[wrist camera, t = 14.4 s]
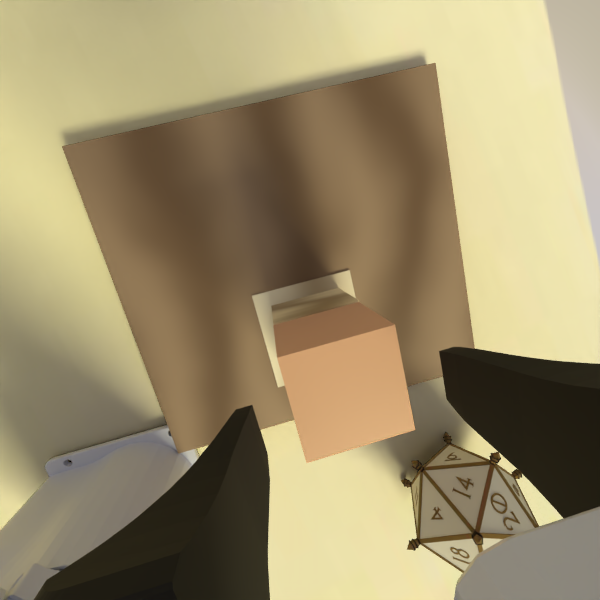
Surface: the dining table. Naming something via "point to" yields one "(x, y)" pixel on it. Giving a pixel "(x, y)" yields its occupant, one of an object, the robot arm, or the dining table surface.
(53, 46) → the dining table surface
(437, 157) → the brown wooden board
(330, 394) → the terracotta block
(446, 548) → the game die
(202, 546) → the robot arm
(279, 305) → the birch block
